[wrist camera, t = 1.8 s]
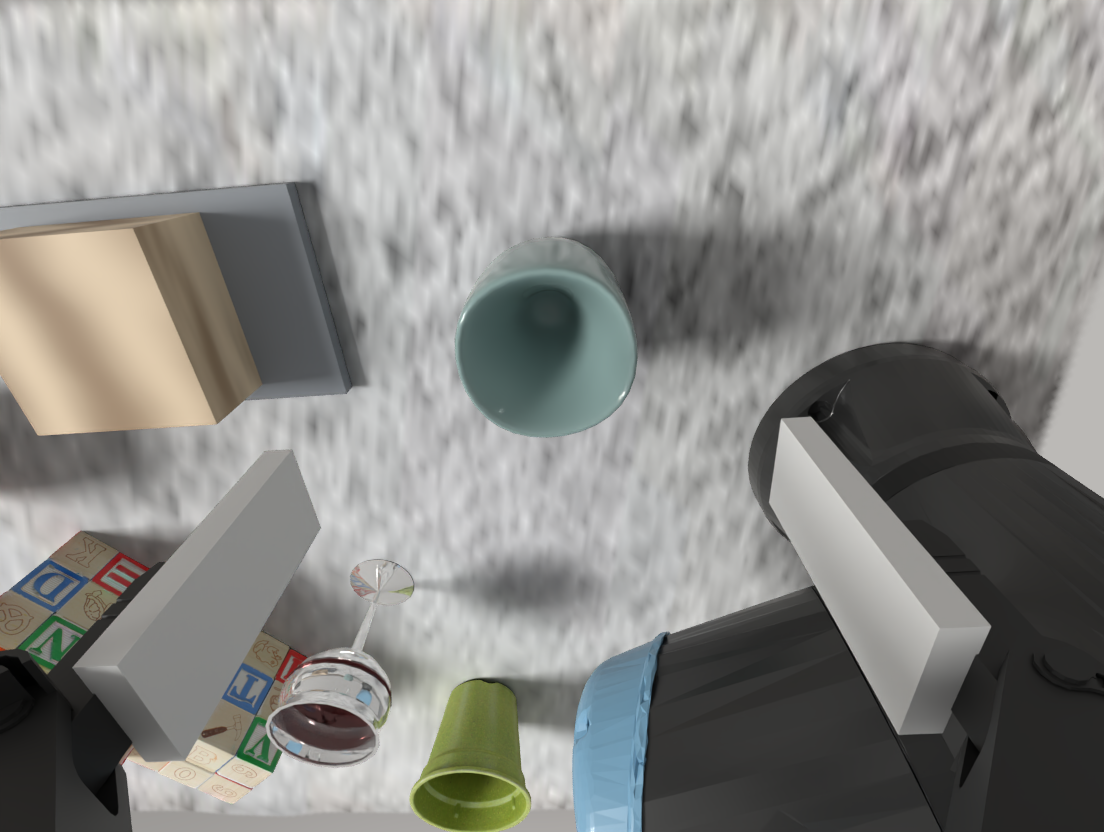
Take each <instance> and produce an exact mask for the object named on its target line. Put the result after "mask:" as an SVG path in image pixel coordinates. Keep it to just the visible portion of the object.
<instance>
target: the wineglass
mask: <svg viewBox="0 0 1104 832" xmlns="http://www.w3.org/2000/svg"><path fill="white" fill-rule="evenodd" d="M350 580H351V585H352V587H353V589H354V591H355V592H356V593H357V594H358V595H359V596H360V597H361V598H363V599H365V600H366V601H368V602H371V605H370V607H369V609H368V611H367V614H366V616H365V618H364V620H363V622H362V625H361V627H360V629H359V631H358V634H357V636H356V638H355V640H354V642H353V645H352V647H351V648H344V647H341V648H333V649H330V650H327V651H324V652H320V653H318V654H315V655H313V656H310V657H308V658H307V659H305V660H304V661H303V662H302V663H301V664H300V665H299V666H298V667H297V668H296V669H294V670H293V671H292V672H291V673H290V674H289V676H288V677H287V680H286V681H285V682H284V684H283V687H282V689H281V692H280V696H279V700H278V708H277V709H276V710H275V711H274V712H273V713H272V714H271V715H269V717H268V720H267V723H266V725H265V726H266V731H267V736H268V737H269V739H270V740H271V742H272V743H273V744H274V746H275V747H277V748H278V749H279V750H281V751H282V752H283V753H285V754H286V755H287V756H290V757H292V758H294V759H296V760H298V761H301V762H303V763H307V764H311V765H315V766H320V767H332V768H339V767H349V766H354V765H357V764H360V763H363V762H365V761H367V760H368V759H370V758H371V757H372V756H374V755H375V753H376V751H377V750H378V748H379V746H380V745H379V734H378V733H379V732H380V731H381V730H382V728H383V726H384V724H385V722H386V720H387V718H388V716H389V714H390V709H391V686H390V681H389V679H388V677H387V675H386V673H385V672H384V670H383V669H382V668H381V666H380V665H379V664H378V662H377V661H376V660H375V659H374V658H373V657H371V656H370V655H368V654H366V653H365V652H363V651H362V650H363V647H364V644H365V641H366V638H367V634H368V631H369V628H370V625H371V622H372V619H373V616H374V613H375V610H376V607H377V605H385V606H390V605H397V604H400V603H402V602H404V601H406V600H407V599H408V598H409V597H410V596H411V594H412V592H413V590H414V583H413V580H412V578H411V576H410V575H409V573H408V572H407V571H406V570H405V569H404V568H402V567H400V566H399V565H397V564H395V563H392V562H389V561H386V560H369V561H365V562H363V563H361V564H358V565H357V566H356V567H355V568H354V569H353V571H352V573H351V576H350Z"/></svg>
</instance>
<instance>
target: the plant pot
mask: <svg viewBox="0 0 1104 832" xmlns="http://www.w3.org/2000/svg"><path fill="white" fill-rule="evenodd" d="M409 801H410V805H411V807H412V809H413V811H414V812H415V814H416V815H417V816H418V817H419V818H421V819H423V820H424V821H425V822H427V823H428V824H430V825H433V826H435V827H437V828H440V829H443V830H446V831H451V832H498V831H502V830H505V829H508V828H511V827H514V826H515V825H517V824H519V823H520V822H521V821H523V820H524V818H526V816H527V815H528V813H529V811H530V809H531V797H530V794H529V792H528V790H527V789H526V786H525V778H524V775H523V773H522V771H521V758H520V744H519V732H518V716H517V702H516V697H515V695H514V694H513V692H512V691H511V690H510V689H508V688H507V687H506V686H504V685H502V684H500V683H492V684H490V683H486V682H483V681H482V680H473V681H468V682H465V683H463V684H461V685H459V686H457V687H456V688H455V689H454V690H453V691H452V693H451V695H450V697H449V700H448V703H447V706H446V709H445V713H444V716H443V719H442V722H441V725H440V728H439V731H438V734H437V737H436V740H435V743H434V746H433V749H432V752H431V755H430V758H429V761H428V764H427V765H426V767H425V768H424V769H423V771H422V774H421V777H420V779H419V780H418V781H417V782H416V784H415V785H414V786H413V788H412V790H411V793H410V798H409Z"/></svg>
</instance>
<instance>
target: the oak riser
mask: <svg viewBox="0 0 1104 832" xmlns="http://www.w3.org/2000/svg"><path fill="white" fill-rule="evenodd" d="M0 375H1V377H2V378H3V380H4V381H5V383H6V385H7V386H8V388H9V390H10V391H11V393H12V394H13V396H14V398H15V399H16V401H17V402H18V404H19V406H20V407H21V409H22V411H23V412H24V414H25V415H26V417H27V419H28V420H29V422H30V423H31V425H32V427H33V428H34V430H35V432H36V433H37V435H38V436H42V435H58V434H73V433H89V432H105V431H120V430H136V429H151V428H167V427H182V426H198V425H213V424H218V423H219V422H220V421H221V420H222V419H224V418H225V417H226V416H227V415H228V414H229V413H230V412H232V411H233V410H234V409H235V408H236V407H237V406H238V405H240V404H241V403H242V402H243V401H244V400H245V399H246V398H248V397H249V396H250V395H251V394H252V393H253V392H254V391H256V390H257V389H258V388H259V387H260V386H261V385H262V381H261V379H260V376H259V373H258V371H257V368H256V365H255V362H254V360H253V357H252V354H251V352H250V349H249V346H248V343H247V341H246V338H245V335H244V333H243V330H242V327H241V324H240V322H239V319H238V316H237V314H236V311H235V308H234V305H233V303H232V300H231V297H230V295H229V292H228V289H227V286H226V284H225V281H224V278H223V276H222V273H221V270H220V268H219V265H218V262H217V259H216V257H215V254H214V251H213V249H212V246H211V243H210V240H209V238H208V235H207V232H206V230H205V227H204V224H203V221H202V219H201V216H200V213H199V212H196V213H184V214H172V215H161V216H149V217H137V218H125V219H113V220H101V221H89V222H77V223H65V224H53V225H41V226H29V227H18V228H13V229H7V230H2V231H0Z"/></svg>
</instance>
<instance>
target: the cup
mask: <svg viewBox="0 0 1104 832" xmlns="http://www.w3.org/2000/svg"><path fill="white" fill-rule="evenodd" d="M455 359H456V363H457V368H458V372H459V376H460V379H461V381H462V384H463V386H464V388H465V391H466V393H467V394H468V396H469V397H470V399H471V401H472V402H473V404H474V405H475V406H476V408H477V409H478V410H479V411H480V412H481V413H482V414H483V415H484V416H485V417H486V418H487V419H489V420H490V421H491V422H493V423H494V424H496V425H497V426H498V427H500V428H503V429H505V430H507V431H510V432H512V433H515V434H520V435H524V436H529V437H546V438H547V437H558V436H565V435H569V434H573V433H577V432H581V431H583V430H586V429H588V428H590V427H593V426H595V425H597V424H599V423H600V422H602V421H603V420H605V419H606V418H608V417H609V416H611V415H612V414H613V413H614V412H615V411H616V410H617V409H618V408H619V407H620V406H621V405H622V403H623V401H624V400H625V398H626V397H627V395H628V393H629V392H630V389H631V386H632V384H633V381H634V378H635V374H636V367H637V359H638V351H637V336H636V332H635V328H634V324H633V319H632V316H631V313H630V310H629V307H628V305H627V302H626V300H625V297H624V295H623V293H622V291H621V288H620V286H619V284H618V281H617V279H616V277H615V276H614V274H613V273H612V271H611V270H610V268H609V267H608V266H607V264H606V263H605V261H604V260H603V259H602V258H601V257H600V256H599V255H598V254H596V253H595V252H594V251H593V250H592V249H591V248H589V247H587V246H585V245H583V244H581V243H579V242H578V241H574V240H570V239H567V238H561V237H543V238H535V239H531V240H528V241H525V242H522V243H519V244H517V245H515V246H513V247H511V248H510V249H508V250H506V251H504V252H503V253H502V254H500V255H499V256H498V257H497V258H496V259H494V260H493V261H492V262H491V263H490V264H489V266H488V267H487V268H486V269H485V271H484V272H483V273H482V275H481V276H480V277H479V278H478V280H477V281H476V283H475V285H474V287H473V288H472V290H471V292H470V294H469V296H468V298H467V300H466V302H465V305H464V307H463V309H462V312H461V314H460V317H459V319H458V323H457V329H456V335H455Z"/></svg>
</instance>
